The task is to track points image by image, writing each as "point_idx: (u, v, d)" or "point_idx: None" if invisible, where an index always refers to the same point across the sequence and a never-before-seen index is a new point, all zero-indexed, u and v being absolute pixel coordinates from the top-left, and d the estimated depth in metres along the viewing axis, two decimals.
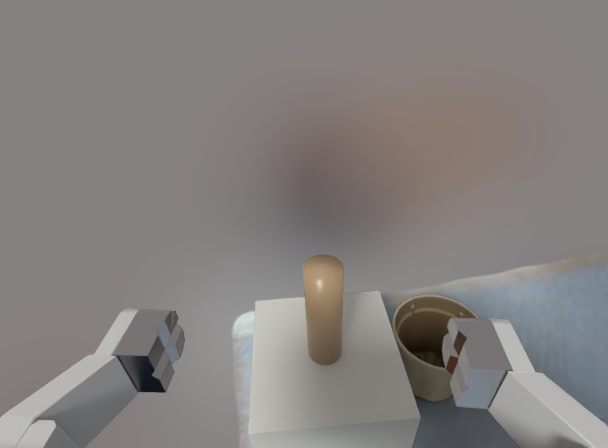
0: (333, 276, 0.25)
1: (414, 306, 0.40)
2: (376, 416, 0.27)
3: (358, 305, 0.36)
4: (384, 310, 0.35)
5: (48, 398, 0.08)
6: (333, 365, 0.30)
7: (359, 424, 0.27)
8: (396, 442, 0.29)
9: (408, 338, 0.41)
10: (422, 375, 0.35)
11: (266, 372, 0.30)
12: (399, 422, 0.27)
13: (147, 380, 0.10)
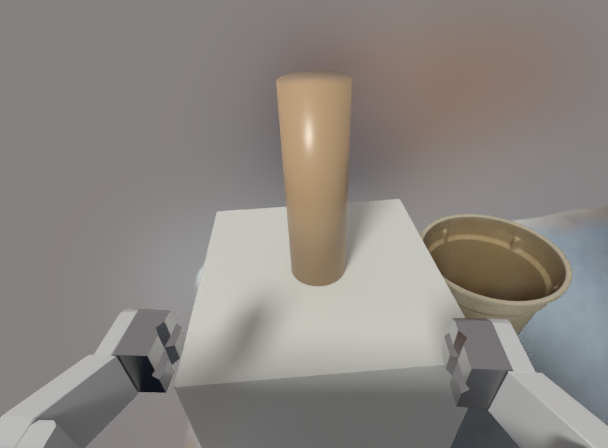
0: (333, 84, 0.13)
1: (447, 231, 0.28)
2: (408, 360, 0.15)
3: (369, 215, 0.24)
4: (409, 220, 0.23)
5: (48, 398, 0.08)
6: (331, 286, 0.19)
7: (377, 372, 0.15)
8: (438, 412, 0.17)
9: None
10: None
11: (220, 296, 0.18)
12: None
13: (147, 380, 0.10)
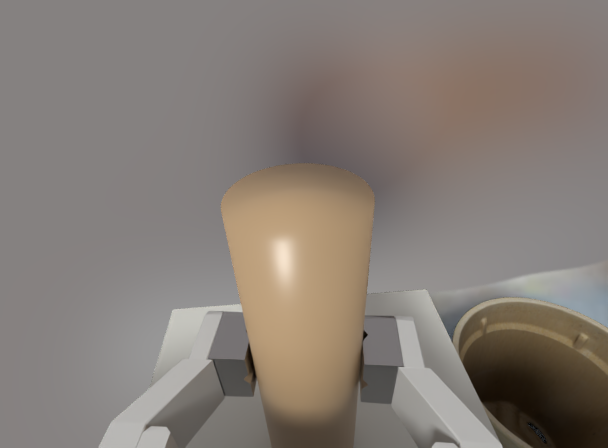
0: (336, 221, 0.06)
1: (487, 320, 0.21)
2: None
3: None
4: (444, 331, 0.16)
5: (154, 404, 0.08)
6: None
7: None
8: None
9: (470, 378, 0.22)
10: None
11: None
12: None
13: (237, 384, 0.10)
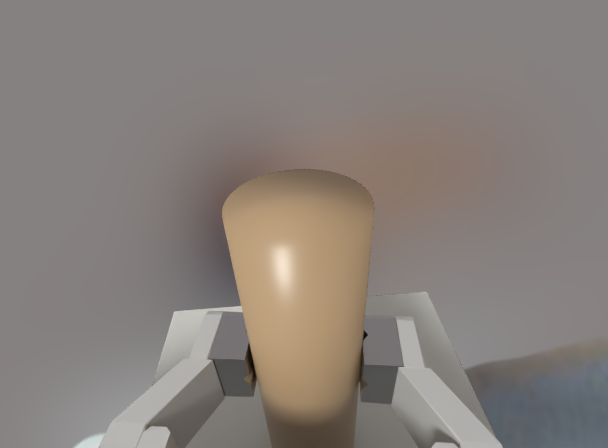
0: (337, 228, 0.06)
1: None
2: None
3: None
4: (444, 334, 0.16)
5: (154, 404, 0.08)
6: None
7: None
8: None
9: None
10: None
11: None
12: None
13: (237, 384, 0.10)
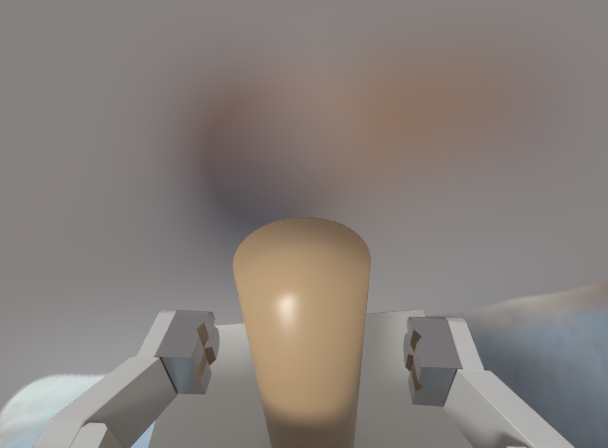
0: (336, 284, 0.07)
1: None
2: None
3: (384, 340, 0.18)
4: None
5: (96, 401, 0.08)
6: None
7: None
8: None
9: None
10: None
11: None
12: None
13: (188, 382, 0.10)
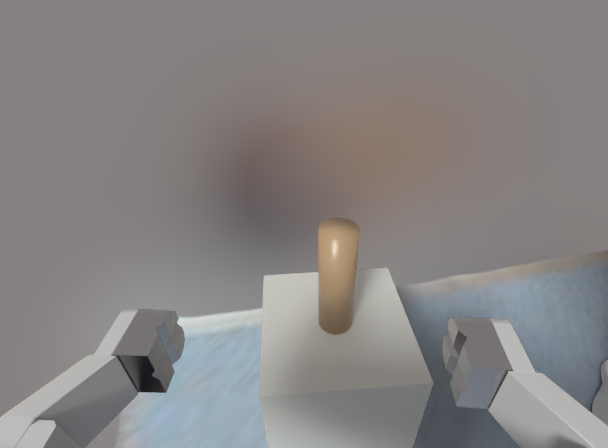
0: (350, 236, 0.25)
1: None
2: (389, 382, 0.27)
3: (367, 280, 0.36)
4: (393, 285, 0.35)
5: (48, 398, 0.08)
6: (344, 334, 0.30)
7: (371, 389, 0.26)
8: (407, 412, 0.29)
9: None
10: None
11: (276, 340, 0.30)
12: (411, 388, 0.27)
13: (147, 380, 0.10)
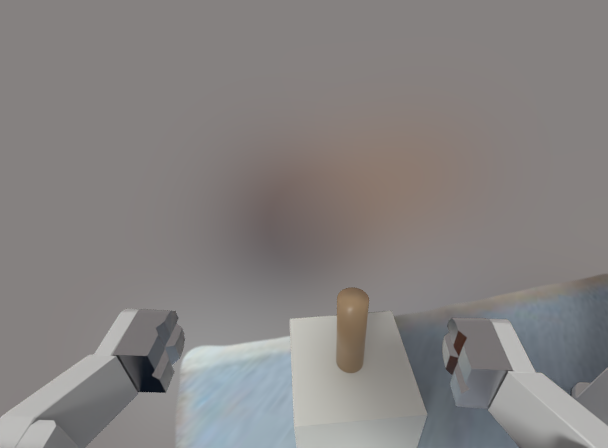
0: (361, 306, 0.33)
1: None
2: (393, 414, 0.35)
3: (375, 323, 0.43)
4: (396, 327, 0.43)
5: (48, 398, 0.08)
6: (357, 373, 0.38)
7: (379, 419, 0.34)
8: (407, 435, 0.37)
9: None
10: None
11: (303, 378, 0.38)
12: (410, 418, 0.35)
13: (147, 380, 0.10)
